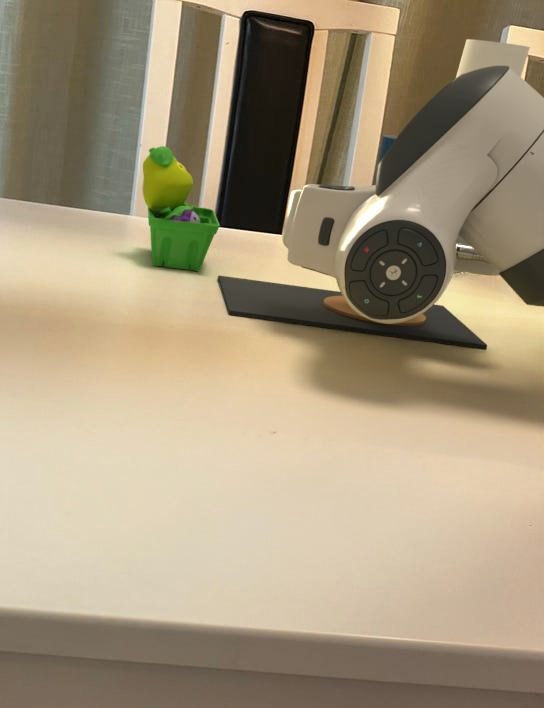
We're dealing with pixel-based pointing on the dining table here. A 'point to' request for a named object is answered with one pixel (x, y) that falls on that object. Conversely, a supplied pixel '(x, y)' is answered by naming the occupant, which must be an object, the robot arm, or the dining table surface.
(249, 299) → the placemat
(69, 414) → the dining table surface
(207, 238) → the fruit basket
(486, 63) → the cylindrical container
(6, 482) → the dining table surface
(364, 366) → the dining table surface
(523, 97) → the robot arm
